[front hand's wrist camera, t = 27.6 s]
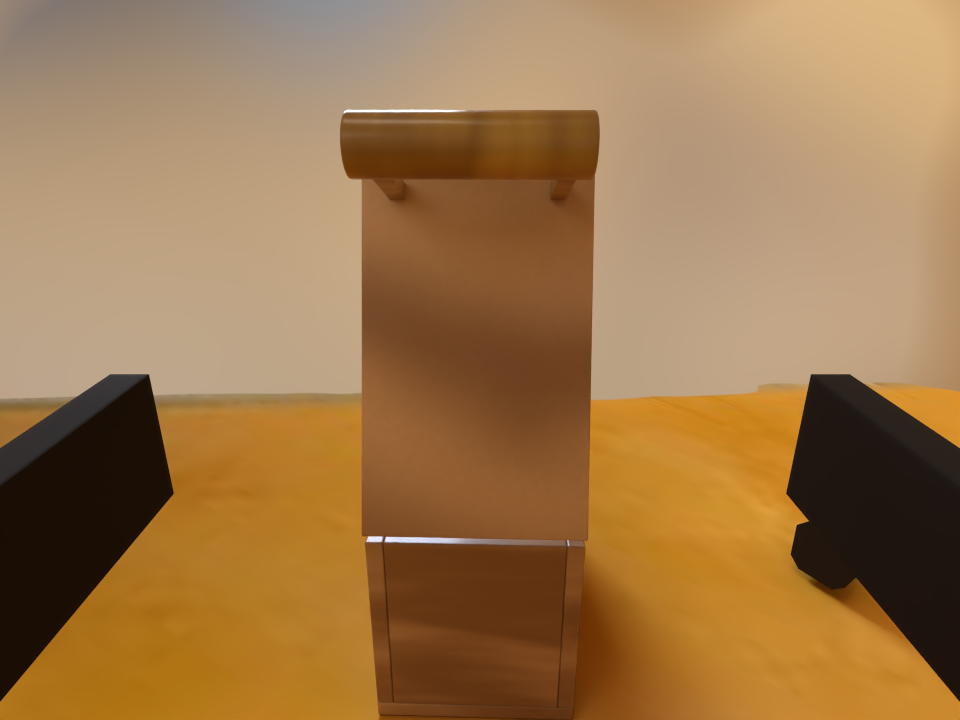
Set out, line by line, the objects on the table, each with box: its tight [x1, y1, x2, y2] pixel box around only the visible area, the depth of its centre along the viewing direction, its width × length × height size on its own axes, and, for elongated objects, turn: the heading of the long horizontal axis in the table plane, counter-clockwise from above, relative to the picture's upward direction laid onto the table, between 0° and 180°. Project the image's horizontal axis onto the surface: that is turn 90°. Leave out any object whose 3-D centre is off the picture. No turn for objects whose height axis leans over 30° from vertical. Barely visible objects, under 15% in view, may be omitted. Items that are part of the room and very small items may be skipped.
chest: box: [365, 536, 585, 720], centre depth 36 cm, size 16×10×10 cm, turn 178°
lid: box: [340, 110, 600, 541], centre depth 23 cm, size 17×10×8 cm
